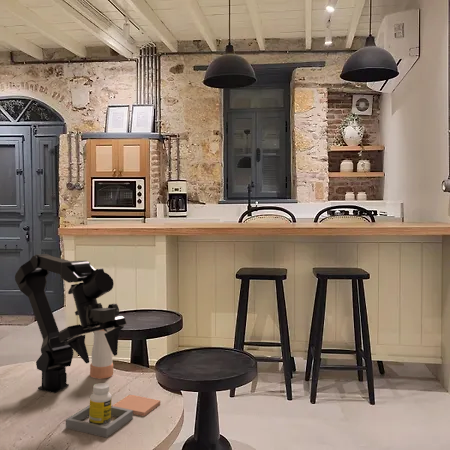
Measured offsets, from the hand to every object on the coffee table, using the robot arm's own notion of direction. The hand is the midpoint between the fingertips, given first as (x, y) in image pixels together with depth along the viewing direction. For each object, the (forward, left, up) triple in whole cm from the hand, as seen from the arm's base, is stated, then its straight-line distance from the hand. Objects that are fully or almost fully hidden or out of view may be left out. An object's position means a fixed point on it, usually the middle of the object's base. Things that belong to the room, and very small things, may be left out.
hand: (102, 359), depth 141 cm
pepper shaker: (-16, +23, -14) cm, 31 cm away
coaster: (+7, +6, -14) cm, 17 cm away
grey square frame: (+4, -7, -14) cm, 16 cm away
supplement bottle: (+4, -7, -14) cm, 16 cm away
